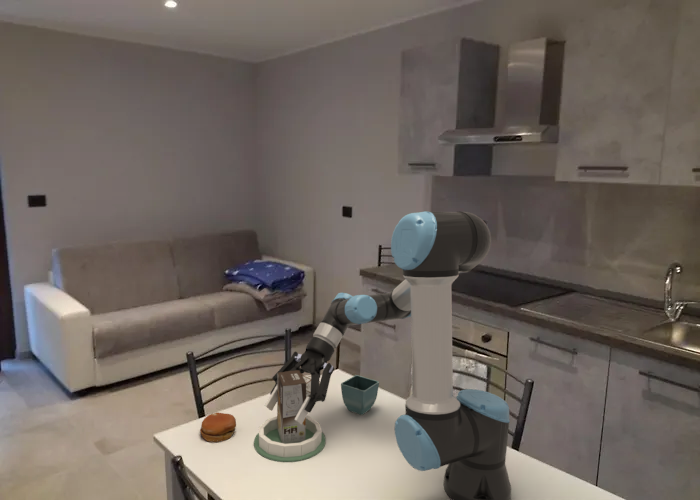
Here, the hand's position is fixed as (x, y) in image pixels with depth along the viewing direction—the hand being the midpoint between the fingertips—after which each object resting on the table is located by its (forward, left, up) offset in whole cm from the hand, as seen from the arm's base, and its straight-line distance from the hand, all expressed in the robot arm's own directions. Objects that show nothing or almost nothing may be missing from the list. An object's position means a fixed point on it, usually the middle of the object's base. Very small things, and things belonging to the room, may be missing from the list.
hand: (282, 415), depth 131 cm
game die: (+19, -23, -9) cm, 31 cm away
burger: (+16, +10, -9) cm, 21 cm away
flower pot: (+3, -30, -9) cm, 31 cm away
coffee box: (0, -3, -7) cm, 7 cm away
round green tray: (+1, -3, -9) cm, 9 cm away
